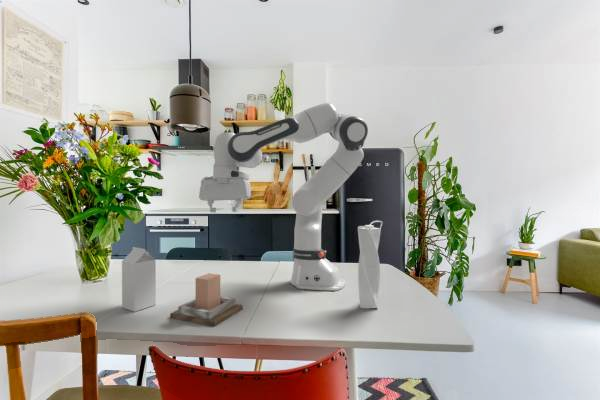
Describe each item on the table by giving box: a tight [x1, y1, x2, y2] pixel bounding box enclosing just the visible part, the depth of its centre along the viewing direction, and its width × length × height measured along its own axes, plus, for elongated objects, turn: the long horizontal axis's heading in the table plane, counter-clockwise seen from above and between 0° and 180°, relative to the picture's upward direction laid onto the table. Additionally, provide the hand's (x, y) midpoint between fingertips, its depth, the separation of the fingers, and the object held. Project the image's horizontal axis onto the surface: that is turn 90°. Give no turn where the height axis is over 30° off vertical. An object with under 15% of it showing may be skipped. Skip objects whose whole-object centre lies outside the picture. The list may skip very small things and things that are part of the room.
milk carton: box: [121, 246, 157, 312], centre depth 98 cm, size 7×7×19 cm
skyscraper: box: [357, 219, 384, 310], centre depth 100 cm, size 8×7×28 cm
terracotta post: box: [195, 273, 221, 310], centre depth 93 cm, size 4×6×10 cm
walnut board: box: [169, 295, 244, 327], centre depth 93 cm, size 16×14×3 cm
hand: (224, 212), depth 113 cm, fingers open, 8 cm apart
